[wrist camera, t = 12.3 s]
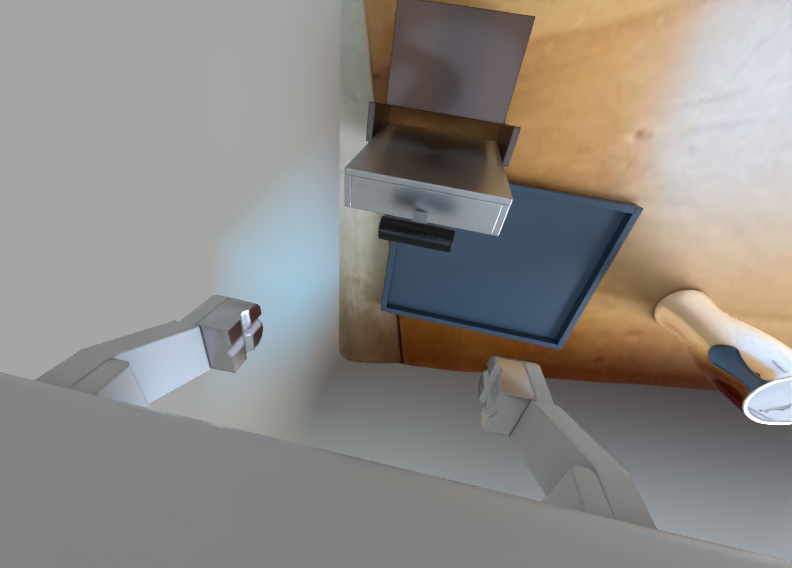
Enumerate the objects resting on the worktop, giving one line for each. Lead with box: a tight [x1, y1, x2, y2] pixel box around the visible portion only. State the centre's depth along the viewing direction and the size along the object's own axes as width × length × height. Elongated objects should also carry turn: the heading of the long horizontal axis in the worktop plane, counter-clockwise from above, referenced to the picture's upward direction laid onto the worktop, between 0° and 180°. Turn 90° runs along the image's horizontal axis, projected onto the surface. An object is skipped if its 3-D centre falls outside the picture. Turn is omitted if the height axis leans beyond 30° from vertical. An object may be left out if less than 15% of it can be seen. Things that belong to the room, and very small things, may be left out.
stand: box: [366, 0, 535, 167], centre depth 29 cm, size 14×11×8 cm
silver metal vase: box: [654, 289, 792, 425], centre depth 33 cm, size 7×7×15 cm
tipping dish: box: [345, 122, 513, 252], centre depth 26 cm, size 12×19×3 cm
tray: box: [381, 181, 643, 349], centre depth 40 cm, size 28×22×2 cm
